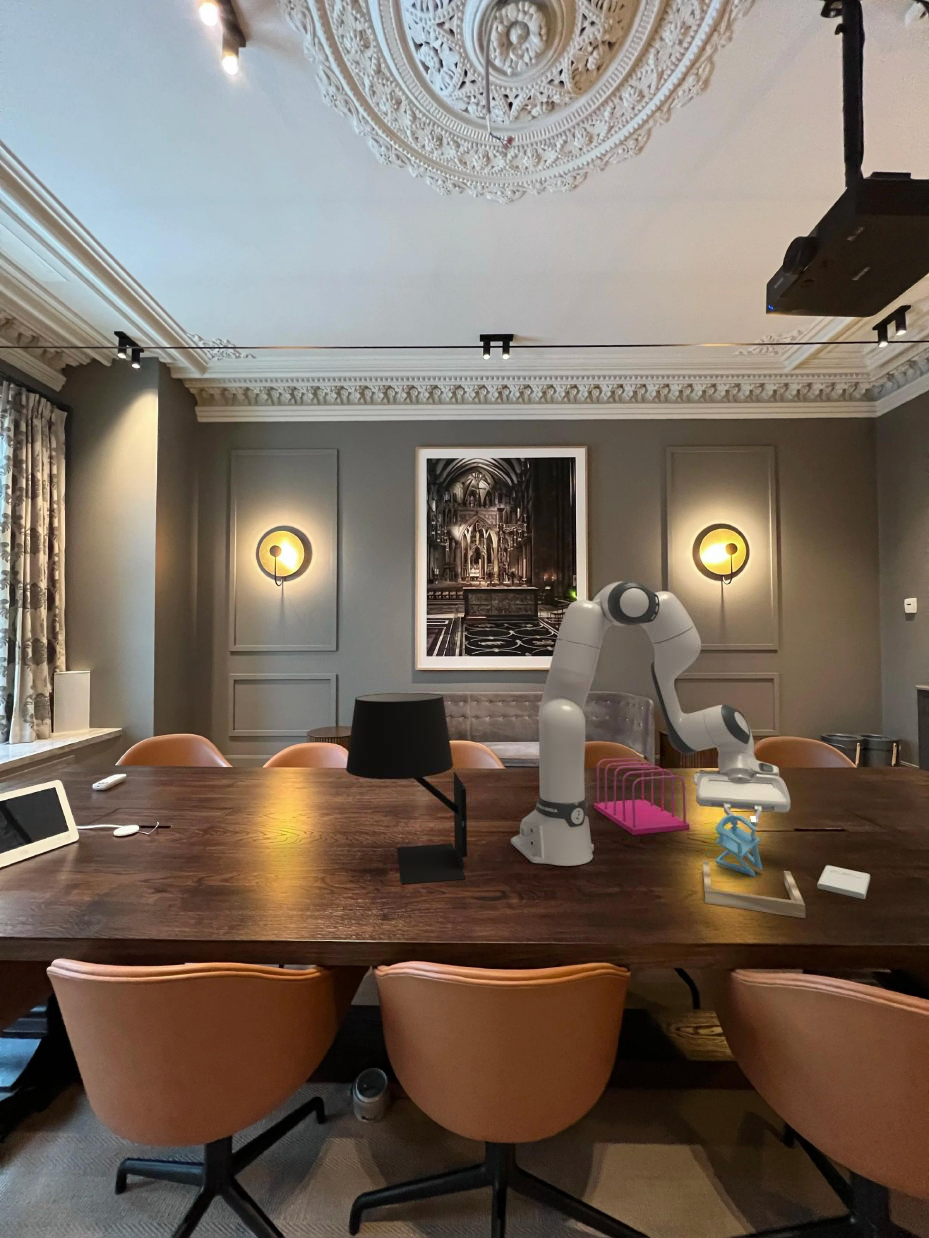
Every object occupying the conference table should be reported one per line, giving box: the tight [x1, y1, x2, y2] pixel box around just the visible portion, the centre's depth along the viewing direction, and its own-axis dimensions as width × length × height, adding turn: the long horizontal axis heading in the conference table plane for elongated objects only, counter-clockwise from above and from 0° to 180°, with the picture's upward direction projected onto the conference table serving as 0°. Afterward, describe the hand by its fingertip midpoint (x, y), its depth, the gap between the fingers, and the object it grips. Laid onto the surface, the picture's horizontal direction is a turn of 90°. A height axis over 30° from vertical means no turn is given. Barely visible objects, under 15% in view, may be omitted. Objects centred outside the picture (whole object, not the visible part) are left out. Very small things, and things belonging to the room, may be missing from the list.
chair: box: [715, 814, 763, 878], centre depth 125 cm, size 8×8×12 cm
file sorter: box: [593, 757, 690, 836], centre depth 165 cm, size 17×25×16 cm
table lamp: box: [345, 692, 468, 886], centre depth 133 cm, size 26×28×40 cm
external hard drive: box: [816, 864, 871, 900], centre depth 119 cm, size 2×8×12 cm
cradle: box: [702, 860, 806, 919], centre depth 115 cm, size 16×17×2 cm
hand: (744, 824), depth 127 cm, fingers open, 3 cm apart
